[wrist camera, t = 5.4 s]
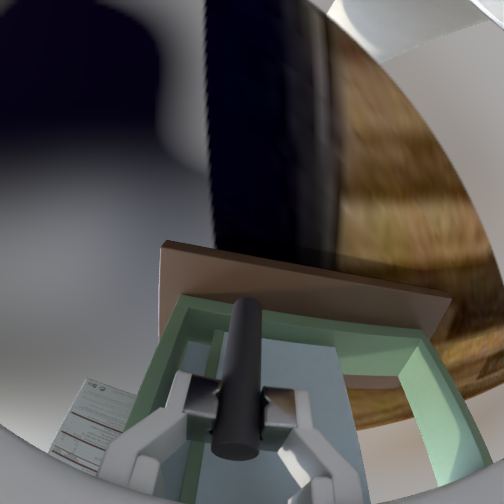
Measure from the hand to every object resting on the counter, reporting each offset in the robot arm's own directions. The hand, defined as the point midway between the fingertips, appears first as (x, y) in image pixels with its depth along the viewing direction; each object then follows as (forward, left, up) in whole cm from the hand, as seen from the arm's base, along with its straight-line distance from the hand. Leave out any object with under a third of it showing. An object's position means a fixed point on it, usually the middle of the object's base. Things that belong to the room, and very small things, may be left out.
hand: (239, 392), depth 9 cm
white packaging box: (+21, -11, -10) cm, 25 cm away
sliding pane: (+2, +2, -7) cm, 8 cm away
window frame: (+5, +5, -10) cm, 12 cm away
